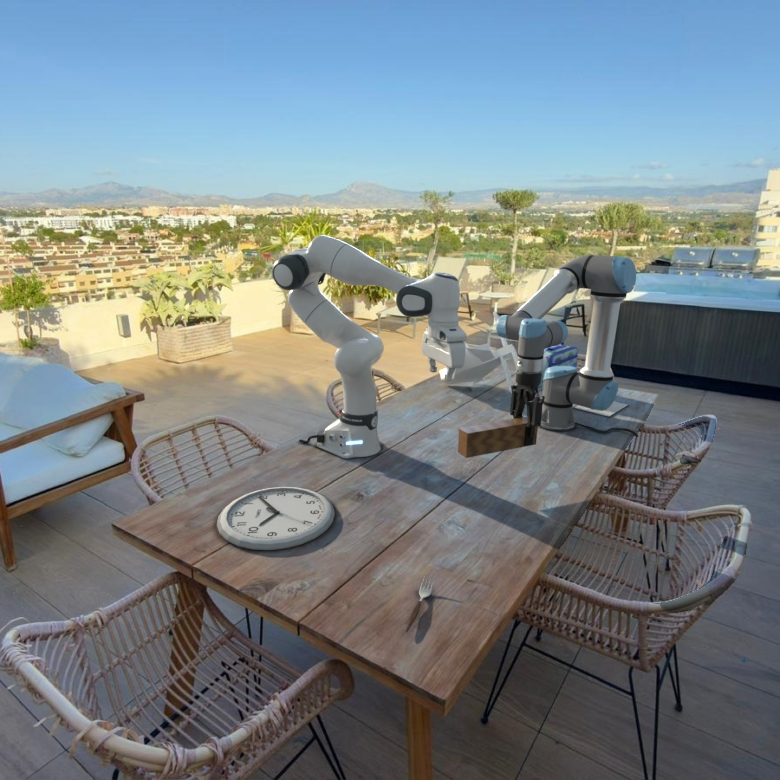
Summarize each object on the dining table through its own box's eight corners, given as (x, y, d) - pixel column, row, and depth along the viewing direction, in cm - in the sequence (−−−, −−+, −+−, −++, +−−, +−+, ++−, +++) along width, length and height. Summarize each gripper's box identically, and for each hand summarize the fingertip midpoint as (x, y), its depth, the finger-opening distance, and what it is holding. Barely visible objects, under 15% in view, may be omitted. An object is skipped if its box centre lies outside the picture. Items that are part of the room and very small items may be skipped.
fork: (399, 632, 98) (399, 624, 98) (423, 581, 112) (424, 573, 112) (412, 636, 97) (413, 627, 97) (435, 584, 112) (435, 576, 111)
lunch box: (550, 397, 237) (555, 352, 231) (529, 391, 245) (533, 348, 238) (577, 386, 255) (582, 344, 249) (556, 381, 262) (561, 340, 256)
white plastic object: (461, 429, 252) (437, 405, 227) (444, 352, 274) (420, 323, 250) (535, 404, 240) (518, 377, 215) (510, 326, 262) (492, 293, 237)
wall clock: (333, 542, 123) (202, 546, 121) (333, 547, 124) (203, 552, 121) (335, 482, 152) (229, 485, 149) (335, 487, 152) (230, 490, 150)
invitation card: (608, 416, 214) (573, 407, 224) (608, 416, 214) (573, 408, 224) (628, 404, 229) (594, 396, 238) (628, 405, 229) (594, 397, 238)
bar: (526, 438, 168) (528, 416, 166) (536, 444, 164) (538, 421, 161) (457, 451, 158) (458, 427, 156) (466, 458, 154) (467, 433, 152)
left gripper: (417, 324, 160) (415, 368, 164) (450, 337, 142) (447, 386, 146) (435, 323, 162) (433, 366, 166) (470, 336, 144) (467, 383, 149)
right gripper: (501, 364, 164) (496, 433, 171) (538, 380, 148) (530, 455, 155) (521, 362, 167) (515, 430, 174) (559, 377, 151) (551, 450, 158)
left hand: (440, 375), depth 156 cm, fingers open, 8 cm apart
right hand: (522, 441), depth 165 cm, fingers closed on bar, 5 cm apart
